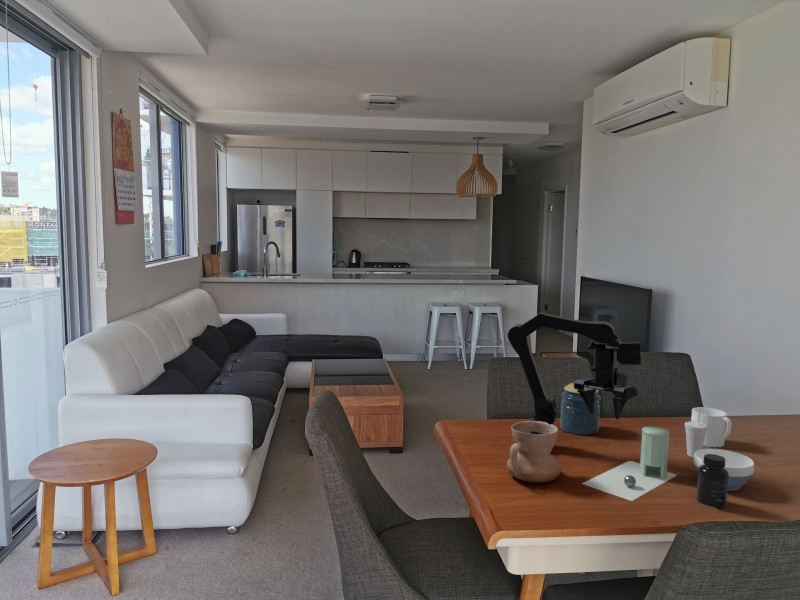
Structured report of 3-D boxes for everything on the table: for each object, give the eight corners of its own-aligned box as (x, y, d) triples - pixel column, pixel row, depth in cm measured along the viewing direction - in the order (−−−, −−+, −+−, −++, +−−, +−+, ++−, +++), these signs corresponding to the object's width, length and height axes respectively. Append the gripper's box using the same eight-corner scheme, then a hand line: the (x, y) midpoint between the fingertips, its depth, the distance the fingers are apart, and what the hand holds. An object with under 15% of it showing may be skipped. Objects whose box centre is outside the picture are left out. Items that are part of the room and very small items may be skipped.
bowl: (751, 501, 157) (753, 472, 156) (688, 487, 165) (690, 460, 164) (753, 482, 169) (756, 455, 168) (695, 470, 177) (697, 444, 176)
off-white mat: (631, 502, 155) (631, 500, 155) (581, 485, 165) (581, 483, 165) (677, 476, 172) (677, 474, 172) (629, 462, 182) (629, 460, 182)
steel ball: (623, 487, 162) (624, 476, 162) (623, 483, 165) (624, 472, 165) (635, 489, 161) (636, 478, 161) (635, 485, 164) (636, 474, 164)
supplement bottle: (690, 497, 158) (693, 452, 157) (715, 497, 159) (719, 451, 158) (705, 509, 152) (709, 462, 150) (732, 509, 152) (736, 461, 151)
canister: (599, 437, 204) (602, 385, 202) (558, 433, 208) (561, 381, 206) (598, 425, 217) (601, 376, 215) (560, 422, 220) (562, 373, 218)
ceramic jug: (533, 462, 181) (534, 415, 179) (574, 478, 169) (575, 427, 168) (489, 477, 170) (490, 427, 168) (530, 495, 158) (531, 441, 157)
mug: (683, 440, 203) (685, 409, 202) (702, 435, 208) (704, 406, 207) (719, 452, 192) (721, 420, 191) (738, 447, 197) (741, 416, 196)
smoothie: (708, 460, 185) (711, 414, 184) (685, 458, 187) (688, 412, 185) (702, 452, 192) (705, 408, 190) (680, 450, 193) (683, 406, 191)
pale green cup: (639, 476, 170) (642, 432, 169) (639, 467, 177) (641, 425, 175) (667, 480, 168) (670, 435, 166) (665, 471, 174) (668, 428, 173)
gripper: (648, 365, 181) (648, 417, 182) (596, 357, 196) (596, 406, 197) (624, 369, 175) (624, 424, 176) (572, 361, 190) (572, 411, 191)
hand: (604, 416), depth 185 cm, fingers open, 9 cm apart
